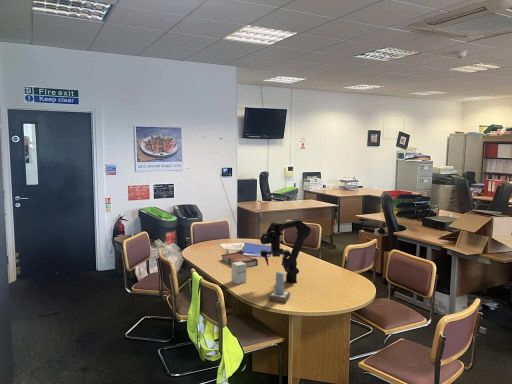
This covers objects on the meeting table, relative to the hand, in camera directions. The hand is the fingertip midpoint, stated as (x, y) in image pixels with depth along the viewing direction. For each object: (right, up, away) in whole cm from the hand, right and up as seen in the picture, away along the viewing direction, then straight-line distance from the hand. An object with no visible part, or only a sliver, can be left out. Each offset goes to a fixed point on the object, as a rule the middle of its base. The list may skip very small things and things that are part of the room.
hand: (275, 266), depth 254 cm
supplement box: (-23, -12, +9) cm, 28 cm away
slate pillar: (+2, -12, -20) cm, 24 cm away
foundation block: (+2, -16, -20) cm, 25 cm away
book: (-25, -8, +51) cm, 58 cm away
